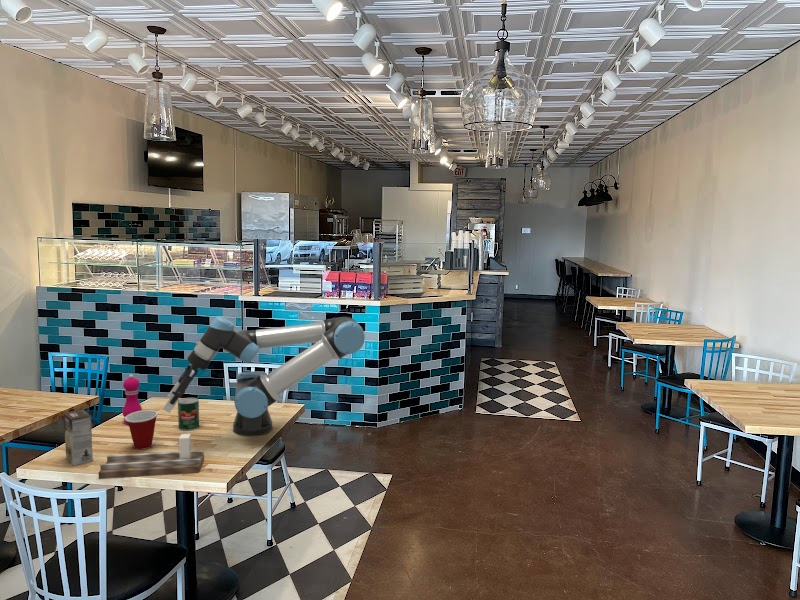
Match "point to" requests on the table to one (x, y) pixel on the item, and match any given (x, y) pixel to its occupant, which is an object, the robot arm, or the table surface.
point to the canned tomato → (188, 413)
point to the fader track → (150, 464)
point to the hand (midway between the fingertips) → (168, 404)
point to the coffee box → (78, 437)
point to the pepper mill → (131, 396)
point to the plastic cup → (142, 427)
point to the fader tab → (185, 446)
